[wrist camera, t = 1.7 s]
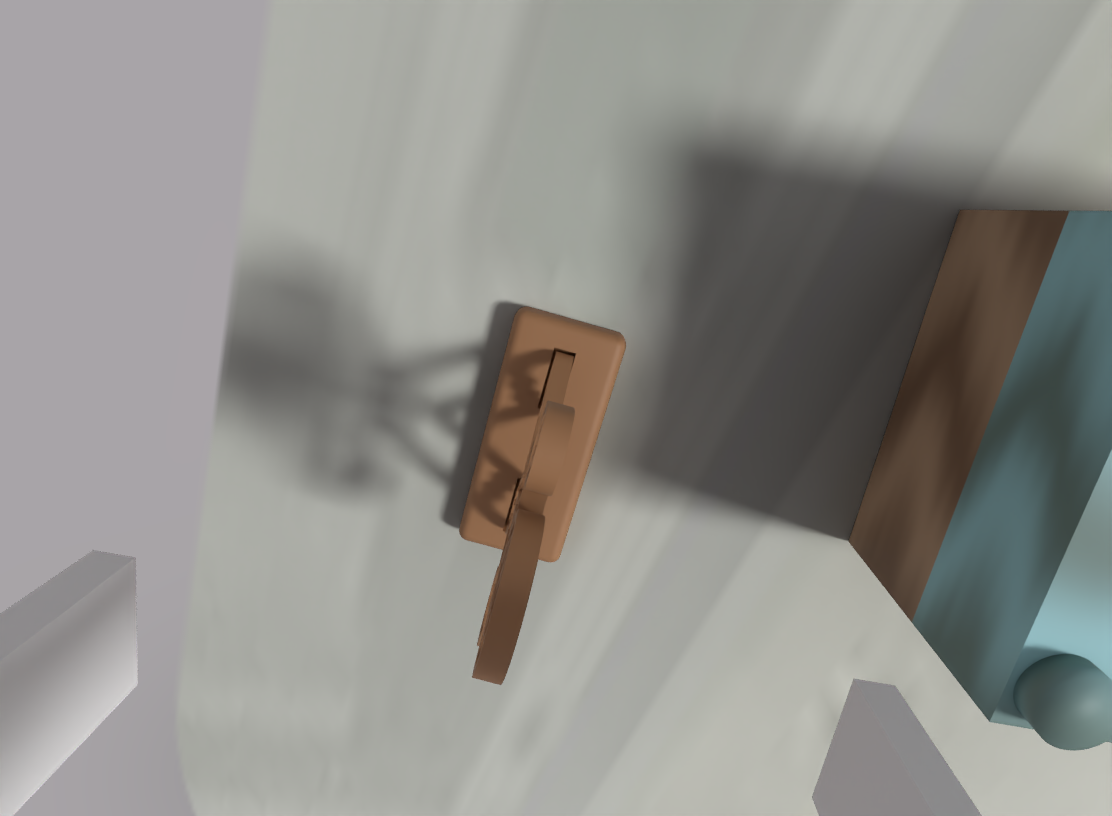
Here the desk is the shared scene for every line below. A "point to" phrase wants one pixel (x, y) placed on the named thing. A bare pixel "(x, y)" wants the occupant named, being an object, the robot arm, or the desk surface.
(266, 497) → the desk surface
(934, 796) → the robot arm
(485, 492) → the lever handle backplate
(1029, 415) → the teal and brown block
